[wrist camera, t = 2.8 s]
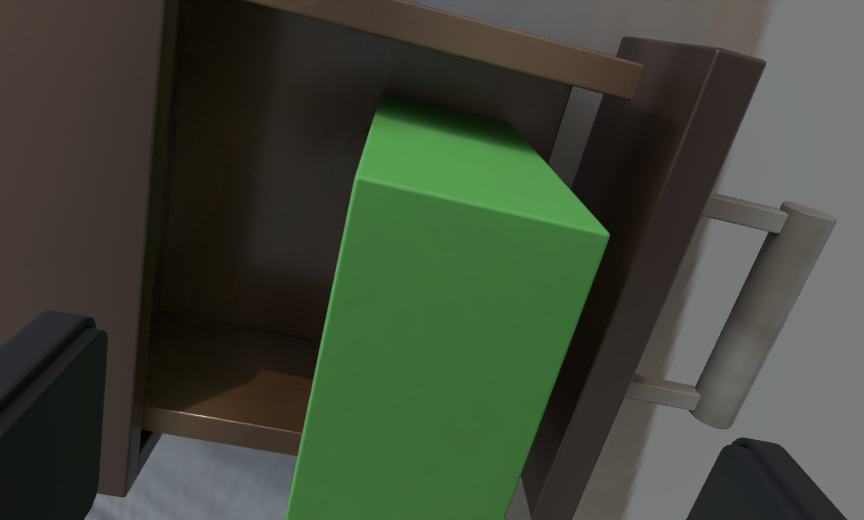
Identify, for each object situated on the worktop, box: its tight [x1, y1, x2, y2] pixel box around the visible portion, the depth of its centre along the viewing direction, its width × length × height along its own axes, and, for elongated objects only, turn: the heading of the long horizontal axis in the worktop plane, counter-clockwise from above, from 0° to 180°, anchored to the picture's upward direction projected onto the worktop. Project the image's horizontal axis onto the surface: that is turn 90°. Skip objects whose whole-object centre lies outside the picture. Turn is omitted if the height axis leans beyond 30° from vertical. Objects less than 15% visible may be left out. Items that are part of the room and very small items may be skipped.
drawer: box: [141, 0, 837, 520], centre depth 18 cm, size 19×13×6 cm
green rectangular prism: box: [285, 92, 610, 520], centre depth 15 cm, size 4×7×10 cm, turn 166°
